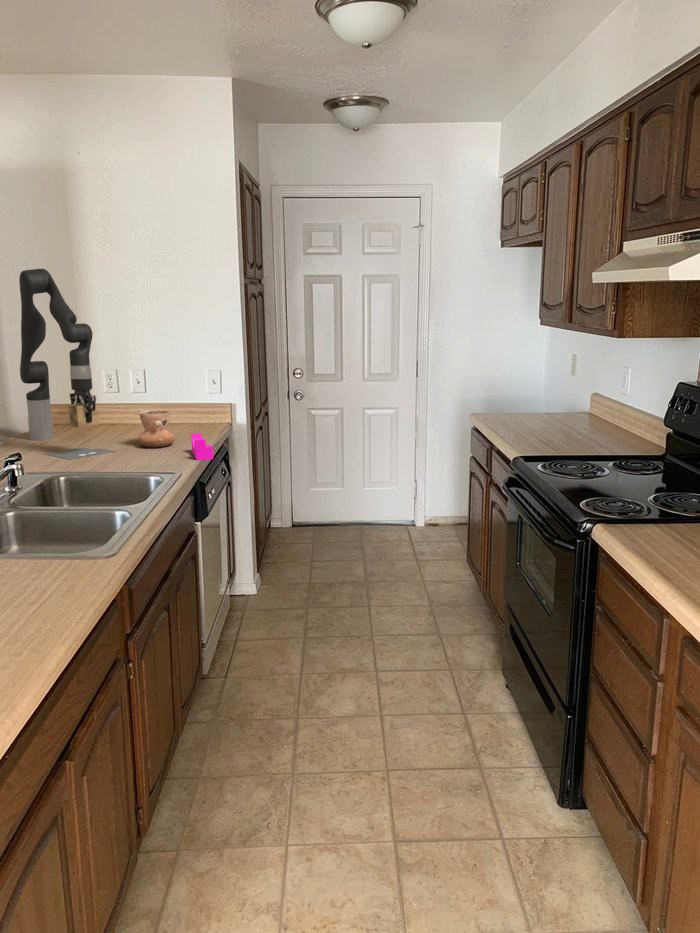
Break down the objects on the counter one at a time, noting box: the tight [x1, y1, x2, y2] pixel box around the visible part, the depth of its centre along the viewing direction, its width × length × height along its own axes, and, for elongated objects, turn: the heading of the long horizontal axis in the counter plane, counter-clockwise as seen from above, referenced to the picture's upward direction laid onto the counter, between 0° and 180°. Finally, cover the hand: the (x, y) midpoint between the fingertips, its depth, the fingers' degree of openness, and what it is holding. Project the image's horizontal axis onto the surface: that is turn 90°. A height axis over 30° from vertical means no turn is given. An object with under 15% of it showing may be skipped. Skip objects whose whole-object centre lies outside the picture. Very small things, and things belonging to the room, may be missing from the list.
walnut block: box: [68, 403, 100, 428], centre depth 284 cm, size 6×9×8 cm, turn 143°
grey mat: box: [44, 446, 116, 461], centre depth 290 cm, size 17×20×1 cm
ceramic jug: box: [137, 409, 176, 449], centre depth 302 cm, size 18×14×14 cm
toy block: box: [190, 433, 214, 461], centre depth 283 cm, size 15×6×8 cm, turn 18°
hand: (84, 421), depth 284 cm, fingers closed on walnut block, 5 cm apart
